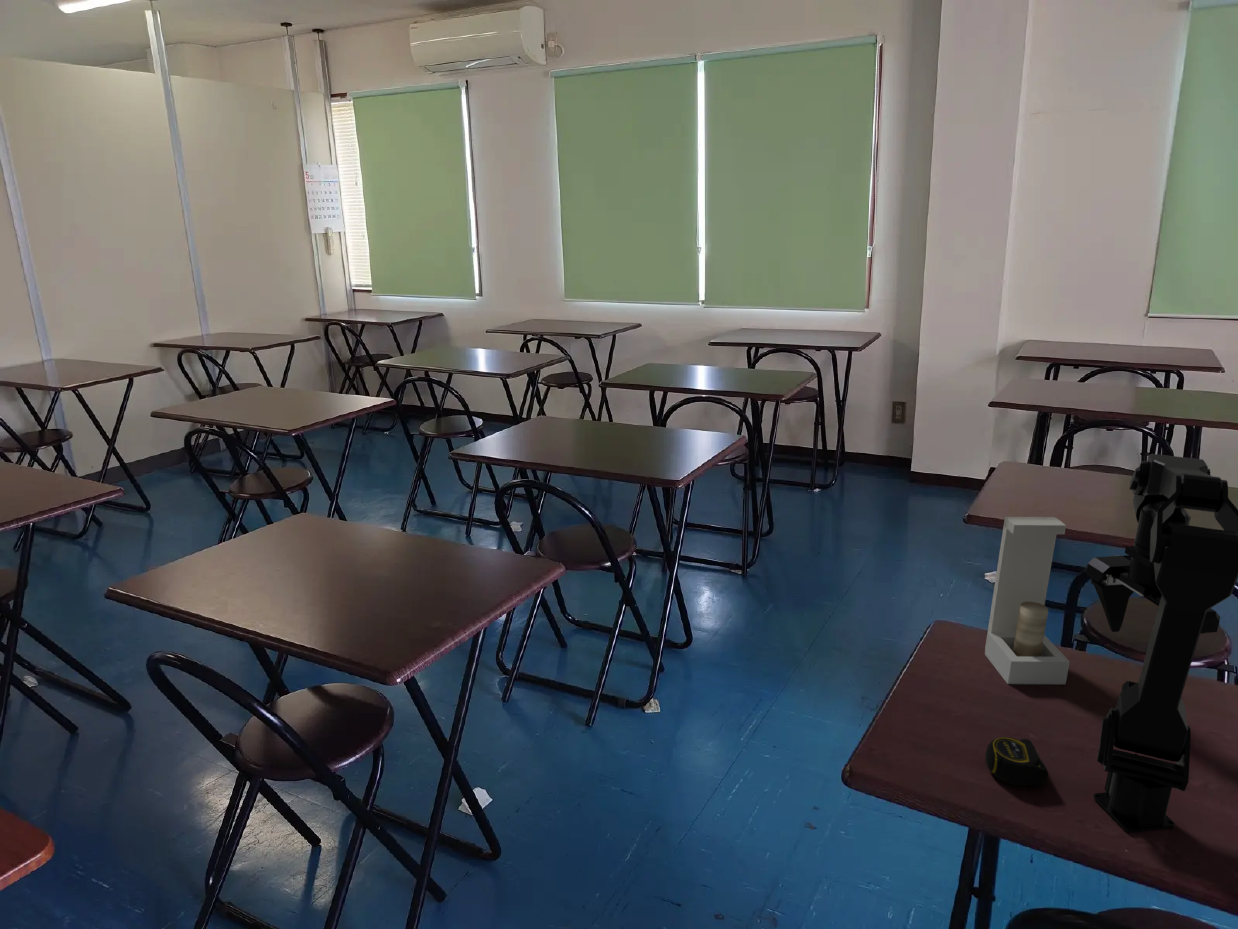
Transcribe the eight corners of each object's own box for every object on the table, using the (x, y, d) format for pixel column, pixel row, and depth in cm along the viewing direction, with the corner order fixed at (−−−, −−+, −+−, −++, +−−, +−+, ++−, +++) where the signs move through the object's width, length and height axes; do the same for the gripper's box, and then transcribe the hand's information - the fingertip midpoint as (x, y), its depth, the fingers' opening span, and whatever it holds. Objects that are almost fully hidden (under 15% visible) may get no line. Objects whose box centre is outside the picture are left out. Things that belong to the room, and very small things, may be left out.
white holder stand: (1065, 684, 133) (1091, 542, 126) (1007, 684, 133) (1030, 542, 126) (1035, 650, 143) (1058, 517, 136) (981, 650, 143) (1001, 516, 136)
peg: (1040, 677, 135) (1051, 614, 132) (1013, 674, 136) (1023, 612, 133) (1034, 664, 139) (1044, 603, 136) (1008, 661, 140) (1017, 600, 137)
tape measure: (1047, 793, 110) (1052, 769, 108) (991, 788, 110) (995, 763, 109) (1030, 760, 116) (1035, 736, 115) (977, 755, 117) (981, 732, 116)
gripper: (1270, 571, 108) (1242, 679, 113) (1162, 517, 126) (1142, 613, 131) (1190, 576, 107) (1165, 685, 111) (1092, 521, 124) (1075, 617, 129)
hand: (1137, 647), depth 121 cm, fingers open, 9 cm apart
